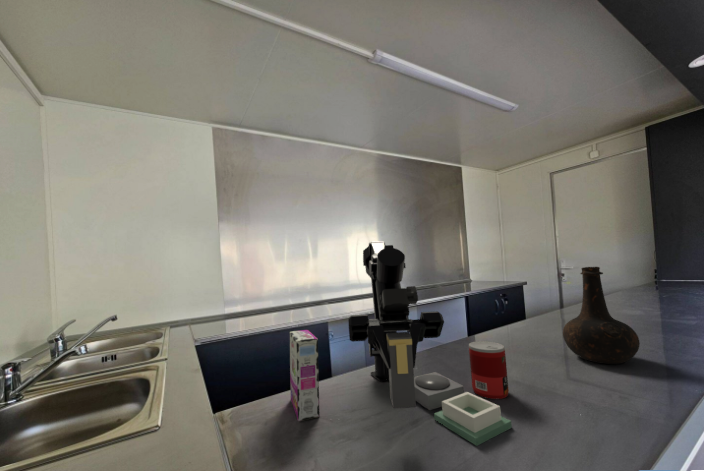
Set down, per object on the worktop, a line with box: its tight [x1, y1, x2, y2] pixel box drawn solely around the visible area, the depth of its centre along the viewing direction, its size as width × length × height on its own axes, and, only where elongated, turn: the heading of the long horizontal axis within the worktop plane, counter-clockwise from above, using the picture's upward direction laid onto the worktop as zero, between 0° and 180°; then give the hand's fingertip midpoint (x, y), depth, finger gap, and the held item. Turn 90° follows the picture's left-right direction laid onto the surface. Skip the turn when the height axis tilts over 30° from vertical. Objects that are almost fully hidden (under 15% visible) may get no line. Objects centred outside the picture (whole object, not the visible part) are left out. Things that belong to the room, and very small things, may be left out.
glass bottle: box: [562, 266, 640, 365], centre depth 88 cm, size 18×18×28 cm
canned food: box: [468, 340, 509, 400], centre depth 70 cm, size 8×8×11 cm
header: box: [433, 391, 513, 447], centre depth 57 cm, size 10×10×4 cm
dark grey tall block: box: [386, 331, 417, 409], centre depth 53 cm, size 5×4×12 cm
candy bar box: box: [289, 329, 321, 422], centre depth 66 cm, size 11×5×16 cm, turn 21°
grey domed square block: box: [414, 371, 465, 411], centre depth 69 cm, size 10×10×3 cm
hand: (401, 367), depth 52 cm, fingers closed on dark grey tall block, 4 cm apart
